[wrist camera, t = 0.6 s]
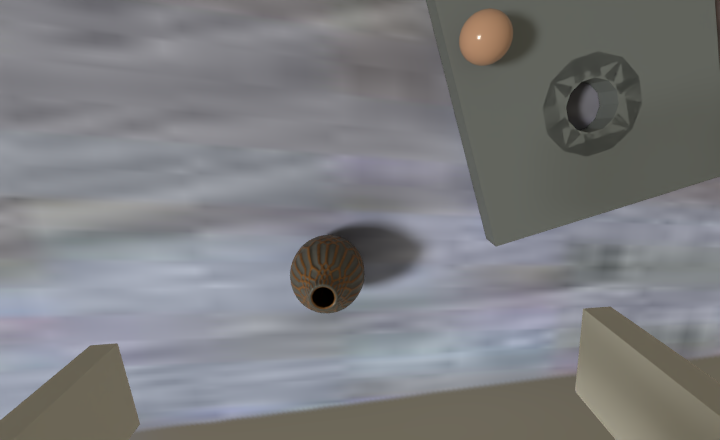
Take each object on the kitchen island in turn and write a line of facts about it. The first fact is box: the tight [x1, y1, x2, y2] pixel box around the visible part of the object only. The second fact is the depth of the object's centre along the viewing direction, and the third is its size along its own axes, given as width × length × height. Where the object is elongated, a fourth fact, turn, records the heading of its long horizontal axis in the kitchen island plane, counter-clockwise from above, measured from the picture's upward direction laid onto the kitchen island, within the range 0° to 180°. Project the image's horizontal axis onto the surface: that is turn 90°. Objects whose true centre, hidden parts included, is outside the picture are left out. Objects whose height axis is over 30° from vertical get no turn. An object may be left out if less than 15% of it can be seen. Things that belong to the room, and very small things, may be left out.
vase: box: [290, 235, 364, 313], centre depth 33 cm, size 7×7×9 cm
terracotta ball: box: [459, 8, 513, 66], centre depth 28 cm, size 4×4×4 cm
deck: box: [426, 0, 720, 246], centre depth 31 cm, size 32×22×2 cm
